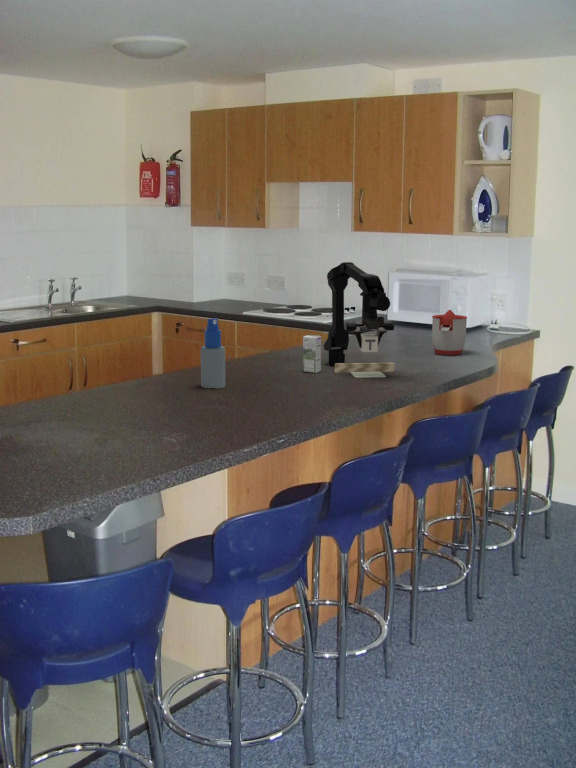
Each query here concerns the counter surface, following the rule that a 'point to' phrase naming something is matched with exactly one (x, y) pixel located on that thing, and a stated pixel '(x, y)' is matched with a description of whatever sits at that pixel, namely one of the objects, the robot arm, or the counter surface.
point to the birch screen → (364, 367)
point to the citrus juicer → (449, 333)
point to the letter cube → (369, 343)
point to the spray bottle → (212, 357)
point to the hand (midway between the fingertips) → (368, 348)
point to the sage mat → (367, 374)
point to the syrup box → (311, 353)
